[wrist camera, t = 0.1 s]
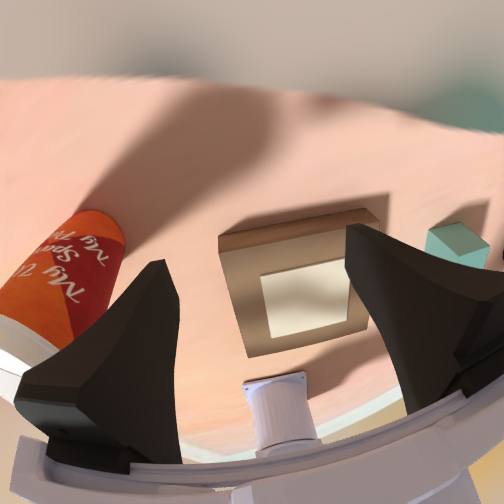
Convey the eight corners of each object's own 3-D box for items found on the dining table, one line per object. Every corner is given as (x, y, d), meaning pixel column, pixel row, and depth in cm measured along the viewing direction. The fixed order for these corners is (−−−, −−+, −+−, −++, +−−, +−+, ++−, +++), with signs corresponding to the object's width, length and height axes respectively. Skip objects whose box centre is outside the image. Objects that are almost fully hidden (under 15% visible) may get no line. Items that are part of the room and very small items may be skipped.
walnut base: (355, 309, 29) (367, 330, 26) (245, 335, 28) (248, 359, 26) (362, 205, 22) (381, 222, 19) (217, 233, 22) (218, 254, 19)
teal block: (451, 260, 27) (477, 286, 22) (420, 270, 26) (445, 299, 22) (460, 221, 24) (490, 245, 20) (427, 229, 24) (458, 256, 20)
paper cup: (126, 189, 19) (30, 339, 7) (147, 276, 23) (113, 436, 11) (43, 204, 18) (-63, 326, 6) (71, 282, 22) (12, 414, 10)
